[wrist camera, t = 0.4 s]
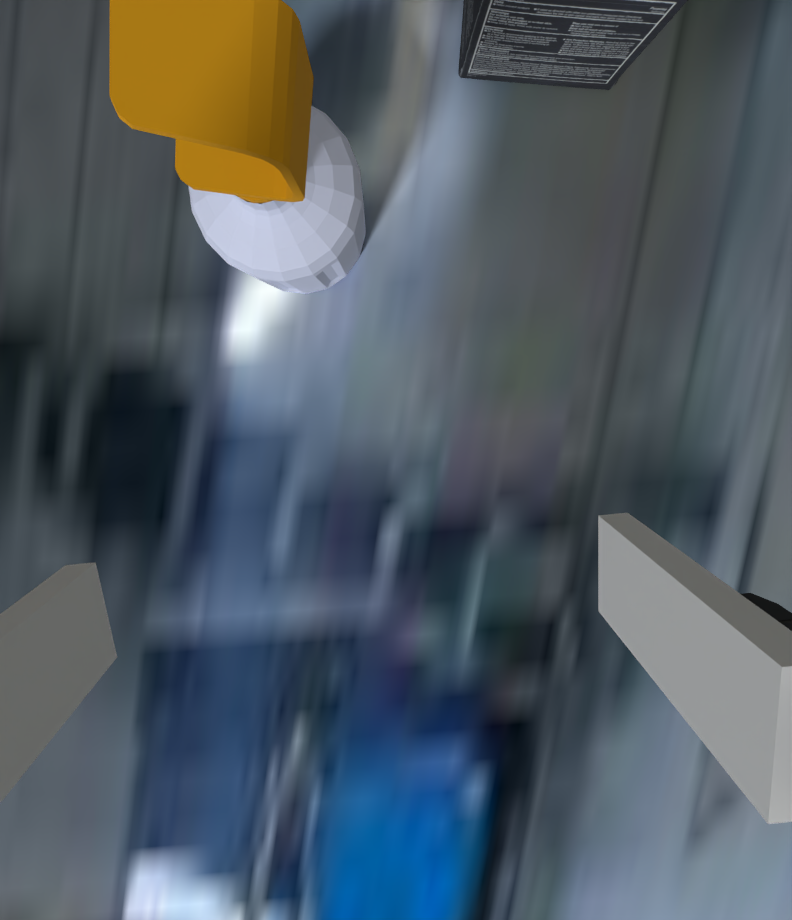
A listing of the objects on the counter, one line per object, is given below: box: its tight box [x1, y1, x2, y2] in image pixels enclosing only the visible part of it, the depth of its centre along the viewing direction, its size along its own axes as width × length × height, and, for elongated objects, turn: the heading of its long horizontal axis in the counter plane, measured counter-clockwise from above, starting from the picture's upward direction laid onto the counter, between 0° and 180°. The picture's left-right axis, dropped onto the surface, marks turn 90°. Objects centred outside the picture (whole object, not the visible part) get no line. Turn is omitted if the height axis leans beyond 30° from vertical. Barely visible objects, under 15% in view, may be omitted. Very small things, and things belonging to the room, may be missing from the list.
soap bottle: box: [110, 0, 366, 294], centre depth 26 cm, size 9×9×25 cm
